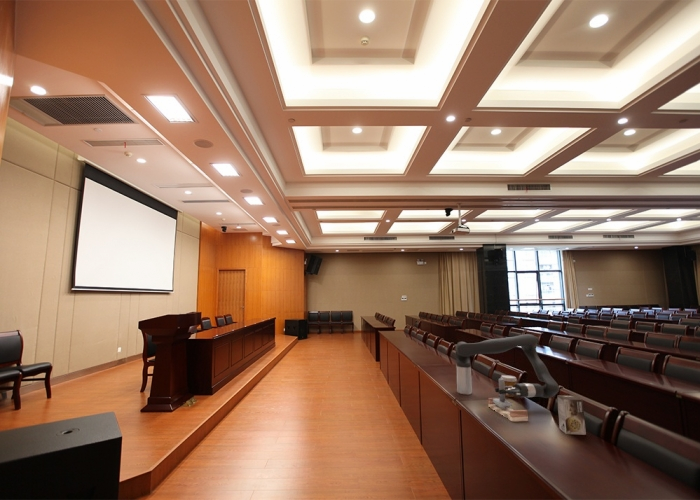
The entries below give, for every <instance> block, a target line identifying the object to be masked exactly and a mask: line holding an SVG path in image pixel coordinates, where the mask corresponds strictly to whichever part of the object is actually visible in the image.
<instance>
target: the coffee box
mask: <svg viewBox="0 0 700 500" xmlns="http://www.w3.org/2000/svg"><path fill="white" fill-rule="evenodd" d="M556 395H557V396H556V398H557V411H558V413H557V414H558V424H559V425H558V427H559V430H561V431H562V432H563V433H564V434H566V435H583V436H585V435H586V436H587V432H586V422H585V421H586V420H585V411H584V400H583V399H582V398H580V397H579V396H576V395H566V394H565V395H563V394H561V395H560V394H559V395H558V394H556Z"/></svg>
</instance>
